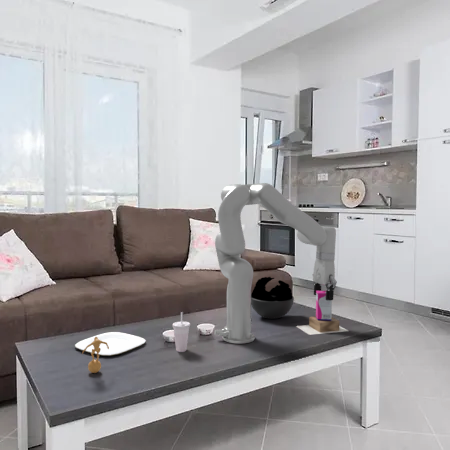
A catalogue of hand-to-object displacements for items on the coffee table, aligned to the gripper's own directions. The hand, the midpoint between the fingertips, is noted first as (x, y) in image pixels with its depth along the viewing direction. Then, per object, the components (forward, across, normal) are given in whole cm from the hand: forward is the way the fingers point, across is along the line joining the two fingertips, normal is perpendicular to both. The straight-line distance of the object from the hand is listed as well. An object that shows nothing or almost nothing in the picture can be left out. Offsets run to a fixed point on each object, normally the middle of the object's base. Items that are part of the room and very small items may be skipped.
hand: (323, 297), depth 183 cm
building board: (+14, 0, 0) cm, 14 cm away
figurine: (+17, +20, -91) cm, 94 cm away
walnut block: (+13, 0, +1) cm, 13 cm away
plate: (+17, -6, -85) cm, 87 cm away
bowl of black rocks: (+14, -22, -13) cm, 30 cm away
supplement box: (+9, 0, +1) cm, 9 cm away
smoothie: (+16, +6, -61) cm, 63 cm away
